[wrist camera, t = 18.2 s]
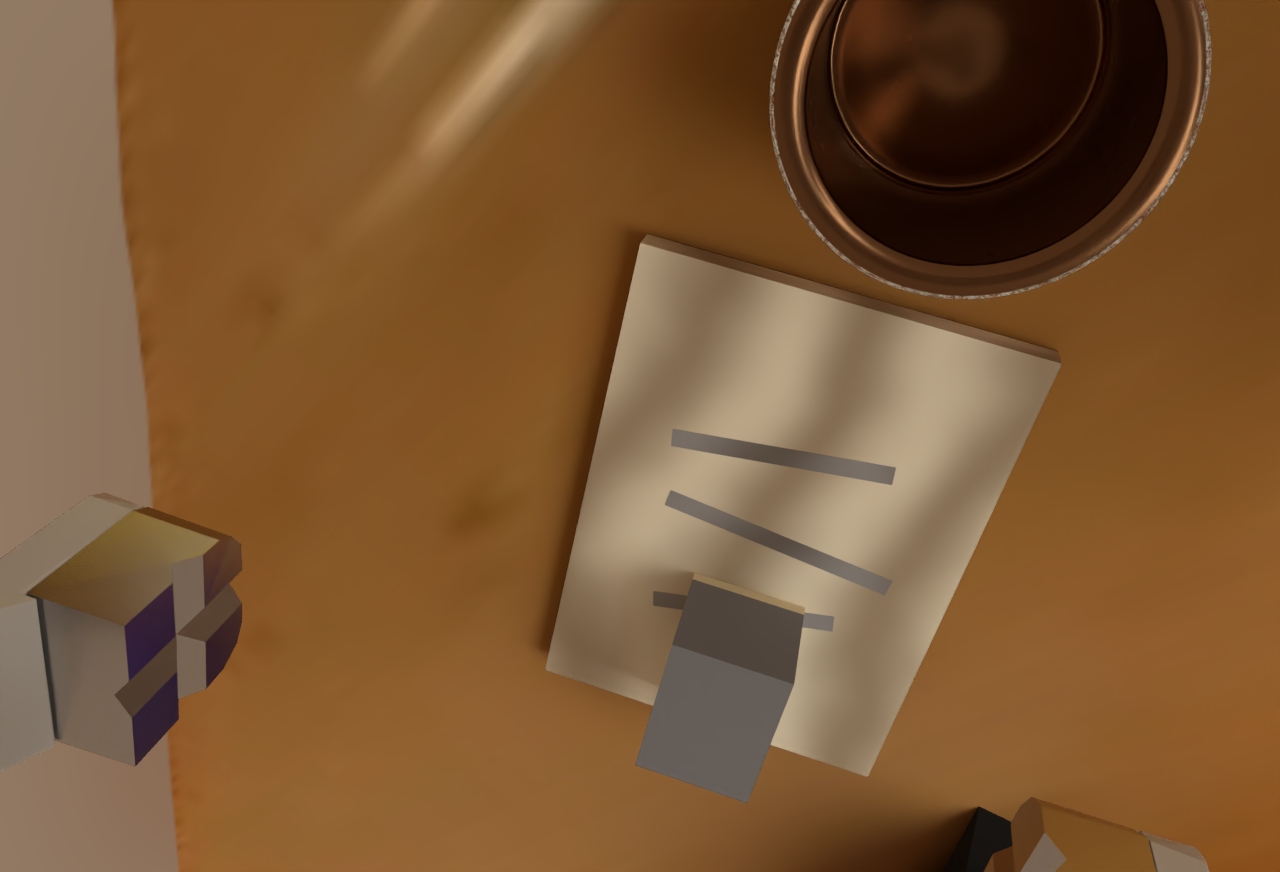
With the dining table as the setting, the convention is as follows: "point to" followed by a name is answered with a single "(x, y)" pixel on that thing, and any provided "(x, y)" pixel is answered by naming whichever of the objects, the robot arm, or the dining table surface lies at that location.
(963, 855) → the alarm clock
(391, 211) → the dining table surface
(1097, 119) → the planter
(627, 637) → the board
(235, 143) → the dining table surface
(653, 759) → the block
